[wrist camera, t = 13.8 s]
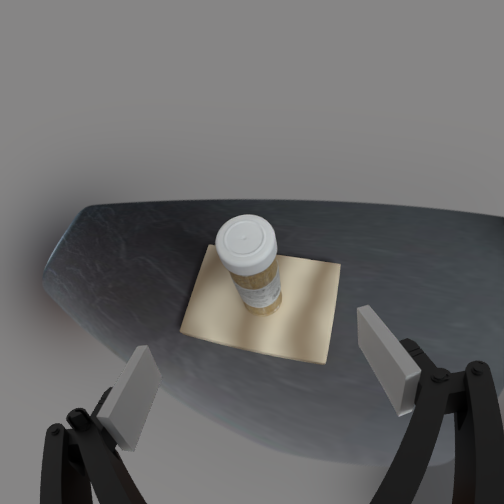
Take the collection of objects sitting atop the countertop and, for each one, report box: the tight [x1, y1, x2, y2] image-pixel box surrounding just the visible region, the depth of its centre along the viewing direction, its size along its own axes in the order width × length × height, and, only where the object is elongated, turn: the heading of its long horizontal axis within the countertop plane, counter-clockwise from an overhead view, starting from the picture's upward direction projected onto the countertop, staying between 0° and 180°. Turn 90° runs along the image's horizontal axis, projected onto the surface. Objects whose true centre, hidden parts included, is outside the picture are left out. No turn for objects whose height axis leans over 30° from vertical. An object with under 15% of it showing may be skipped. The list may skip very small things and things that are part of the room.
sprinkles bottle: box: [215, 215, 282, 317], centre depth 27 cm, size 5×5×14 cm
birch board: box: [180, 245, 341, 365], centre depth 33 cm, size 17×12×2 cm
